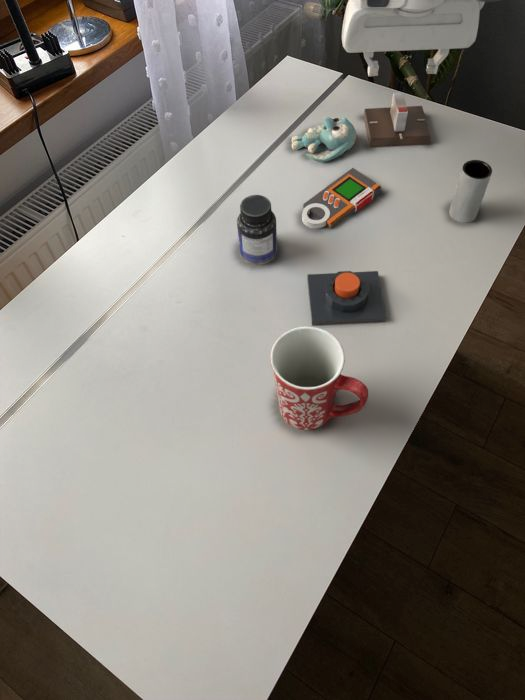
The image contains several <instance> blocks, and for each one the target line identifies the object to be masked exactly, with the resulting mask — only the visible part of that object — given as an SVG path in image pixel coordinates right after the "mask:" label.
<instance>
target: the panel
mask: <svg viewBox="0 0 525 700" xmlns="http://www.w3.org/2000/svg"><path fill="white" fill-rule="evenodd" d="M406 107H407V111H408V115H407V120H406V125H405V130H404V131H398V132H395V131H394V126H393V122H392V118H391V113H390V110H391V106H390V107H374V108H364V112H363V123H364V127H365V131H366V136H367V141H368V147H369V148H370V149H371V148H388V147H389V148H390V147H406V146H407V147H408V146H409V147H410V146H427V145H430V141H431V137H432V135H431V131H430V128H429V124H428V121H427V118H426V115H425V111H424V108H423V105H411V106H410V105H409V106H408V105H407V106H406Z"/></svg>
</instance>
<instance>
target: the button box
mask: <svg viewBox="0 0 525 700" xmlns="http://www.w3.org/2000/svg"><path fill="white" fill-rule="evenodd" d="M342 273H352V274H354V275H356V276H357V277H358V278H359V280H360V286H359V291H358V294H357V295H356V296H355V297H353V298H349V299H346V298H342V297H340V296H338V295H337V294H336V292H335V280H336V278H337V276H339V275H340V274H342ZM306 282H307V290H308V301H309V312H310V322H311V327H315V326H332V325H351V324H352V325H353V324H374V323H375V324H376V323H386V320H387V313H386V307H385V303H384V301H385V300H384V297H383V296H384V295H383V291H382V285H381V280H380V274H379V270H372V271H371V270H369V271H351V270H343V271H342V270H341V271H337V272H331V273H330V272H329V273H328V272H327V273H309V274H307V275H306Z"/></svg>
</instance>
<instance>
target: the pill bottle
mask: <svg viewBox="0 0 525 700" xmlns="http://www.w3.org/2000/svg"><path fill="white" fill-rule="evenodd" d="M239 210H240V211H239V212H240V213H238V216H237V219H236V227H237V235H238V236H237V238H238V248H239V255H240V258H241V259H242V260H243V261H244V262H246V263H247V264H250V265H253V266H261V265H266V264H268V263H270V262H271V261H273V260H274V259H275V257H276V256H277V253H278V241H277V240H278V239H277V238H278V237H277V236H278V235H277V232H278V231H277V217H276V215H275V213H274V211H272V203H271V201H270V199H269V198H267V197H266V196H264V195H261V194H251V195H248V196H246V197H244V198H243V199H242V200H241V202H240V203H239Z"/></svg>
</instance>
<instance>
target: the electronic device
mask: <svg viewBox="0 0 525 700" xmlns="http://www.w3.org/2000/svg"><path fill="white" fill-rule="evenodd" d="M381 189H382V186H381V184H378V182H376V181H374V180H373V179H372V178H370V177H369V176H367V175H365V174H363V173H362V172H361V171H359V170H357V169H356V168H354V167H351V168H350V169H349V170H347V171H346V172H345V173H343V174H342V175H341V176H340V177H337V179H335V180H333V181H332V182H331V183H330V184H328V185H327V186H326V187H324V188H323V189H322V190H320V191H319V192H318V193H317V194H315V195H313V197H311V198H309V199H308V200H307V201H305V202H304V203H303V204H302V208H303V209H302V212H301V220H302V223H303V225H305V226H306V227H307V228H311V229H316V230H317V229H322V228H324V227H327V228H329V229H330V230H332V229H333V228H334V227H336V226H338V225H339V224H340V223H342V222H343V221H344V220H345V219H347V218H349V217H350V216H351V215H352V214H354V213H357V212H358V211H360V209H362V208H363V207H365V206H366V205H368V204H370V202H372V201H373V199H374V198H376V197H377V196H379V195H380V194H381ZM309 215H311V216H312V217H313V218H315V219H312V218H310V217H309Z"/></svg>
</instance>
